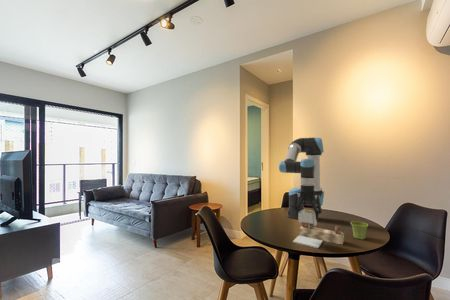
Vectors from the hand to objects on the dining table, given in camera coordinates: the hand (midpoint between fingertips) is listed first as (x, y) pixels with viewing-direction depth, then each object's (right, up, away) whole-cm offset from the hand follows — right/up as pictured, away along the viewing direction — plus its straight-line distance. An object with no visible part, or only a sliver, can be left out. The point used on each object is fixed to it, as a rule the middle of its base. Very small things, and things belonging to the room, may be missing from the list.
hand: (307, 223), depth 129 cm
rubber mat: (0, -11, 0) cm, 11 cm away
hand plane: (+10, -11, +6) cm, 16 cm away
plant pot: (+35, -11, +7) cm, 37 cm away
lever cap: (0, +2, 0) cm, 2 cm away
